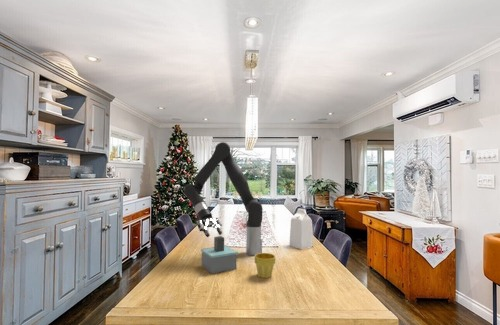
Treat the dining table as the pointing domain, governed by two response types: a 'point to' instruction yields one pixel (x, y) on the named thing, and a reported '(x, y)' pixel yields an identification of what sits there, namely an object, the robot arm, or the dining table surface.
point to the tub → (219, 263)
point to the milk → (301, 230)
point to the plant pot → (264, 264)
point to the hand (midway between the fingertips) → (214, 235)
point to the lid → (218, 249)
